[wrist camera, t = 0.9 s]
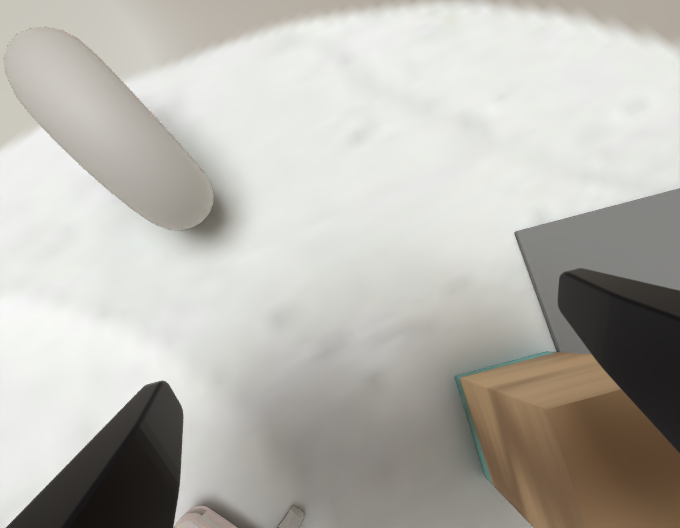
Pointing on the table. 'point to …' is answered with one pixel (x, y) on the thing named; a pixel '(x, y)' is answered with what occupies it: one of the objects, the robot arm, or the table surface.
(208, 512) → the mobile phone
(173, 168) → the donut
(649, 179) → the table surface
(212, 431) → the table surface
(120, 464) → the robot arm
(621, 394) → the oak block
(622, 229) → the charcoal mat
